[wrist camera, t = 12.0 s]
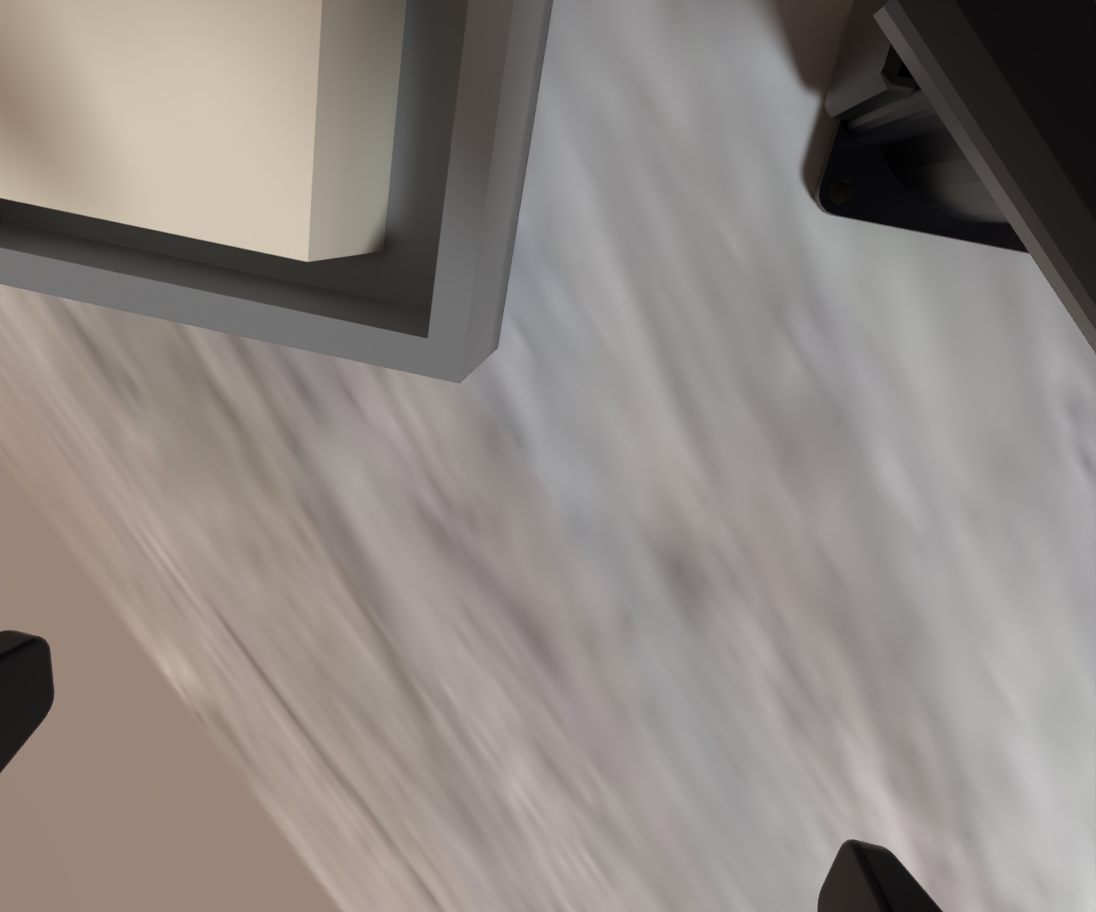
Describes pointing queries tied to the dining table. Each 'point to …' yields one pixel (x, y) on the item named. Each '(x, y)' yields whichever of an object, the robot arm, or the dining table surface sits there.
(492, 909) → the dining table surface
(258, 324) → the tray
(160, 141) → the cream beveled block
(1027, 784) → the dining table surface
